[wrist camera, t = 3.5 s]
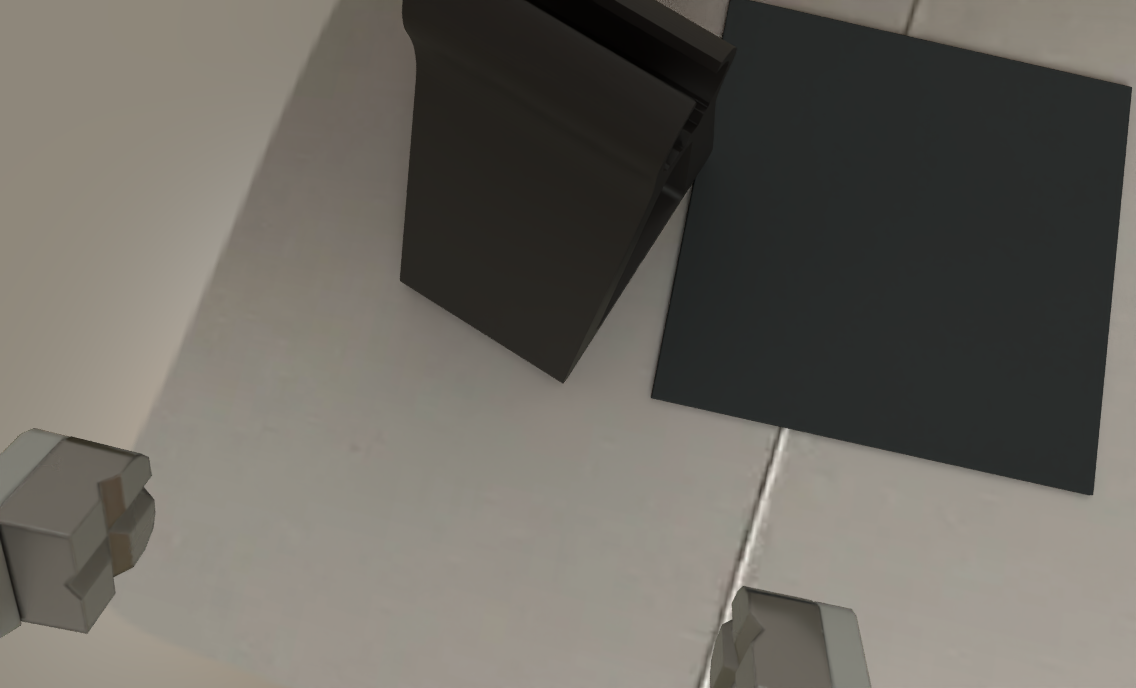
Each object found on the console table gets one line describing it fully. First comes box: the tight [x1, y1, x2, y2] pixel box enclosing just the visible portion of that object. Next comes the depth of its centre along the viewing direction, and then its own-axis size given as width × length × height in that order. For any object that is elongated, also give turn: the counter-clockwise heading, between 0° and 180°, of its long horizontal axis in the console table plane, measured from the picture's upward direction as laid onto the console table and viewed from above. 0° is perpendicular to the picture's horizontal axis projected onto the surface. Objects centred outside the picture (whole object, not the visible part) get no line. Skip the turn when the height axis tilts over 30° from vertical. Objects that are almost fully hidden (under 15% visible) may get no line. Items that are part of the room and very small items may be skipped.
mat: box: [651, 0, 1132, 495], centre depth 28 cm, size 14×14×1 cm
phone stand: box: [400, 0, 737, 383], centre depth 22 cm, size 9×6×12 cm, turn 147°
